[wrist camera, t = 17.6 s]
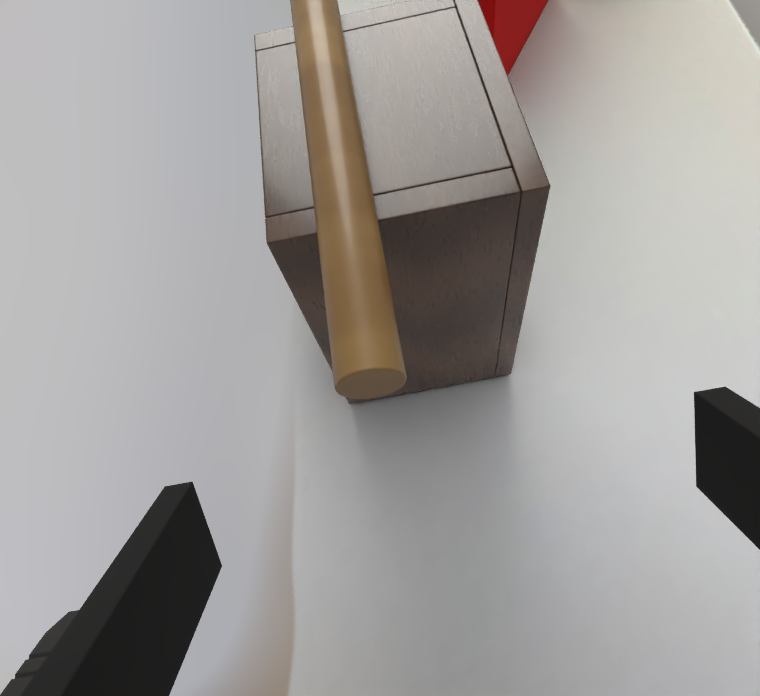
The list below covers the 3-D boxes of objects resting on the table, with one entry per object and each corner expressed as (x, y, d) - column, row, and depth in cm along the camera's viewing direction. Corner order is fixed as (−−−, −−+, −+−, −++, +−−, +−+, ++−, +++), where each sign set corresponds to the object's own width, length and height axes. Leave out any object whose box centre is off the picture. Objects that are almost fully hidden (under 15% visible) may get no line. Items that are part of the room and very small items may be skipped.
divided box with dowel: (541, 480, 30) (362, 512, 30) (449, 155, 41) (320, 182, 42) (637, 319, 14) (253, 391, 14) (442, -139, 25) (234, -90, 26)
